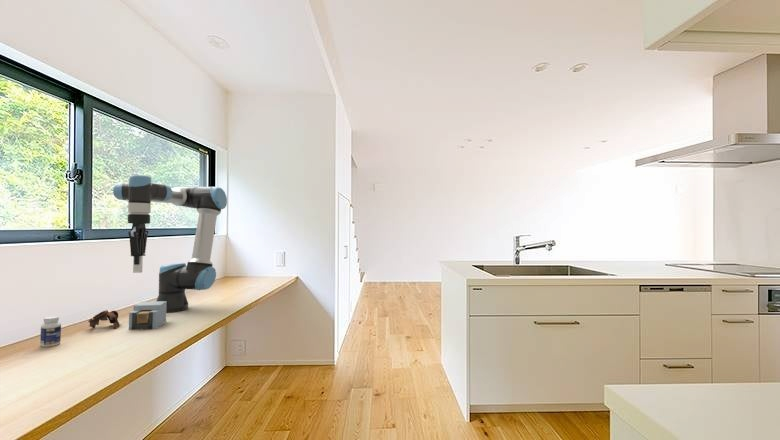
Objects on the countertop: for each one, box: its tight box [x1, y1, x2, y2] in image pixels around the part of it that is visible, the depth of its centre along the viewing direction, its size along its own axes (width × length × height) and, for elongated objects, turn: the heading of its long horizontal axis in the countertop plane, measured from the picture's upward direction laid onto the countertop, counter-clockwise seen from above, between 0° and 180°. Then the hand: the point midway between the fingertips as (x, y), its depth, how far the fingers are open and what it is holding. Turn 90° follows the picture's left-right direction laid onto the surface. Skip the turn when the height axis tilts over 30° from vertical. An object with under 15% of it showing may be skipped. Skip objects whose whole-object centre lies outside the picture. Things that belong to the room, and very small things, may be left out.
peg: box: [137, 310, 152, 323], centre depth 161 cm, size 12×4×4 cm, turn 13°
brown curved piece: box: [88, 309, 121, 329], centre depth 157 cm, size 12×10×8 cm
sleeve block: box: [128, 301, 167, 331], centre depth 161 cm, size 12×10×9 cm
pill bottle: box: [39, 315, 62, 348], centre depth 134 cm, size 5×5×10 cm
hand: (137, 272), depth 150 cm, fingers closed
